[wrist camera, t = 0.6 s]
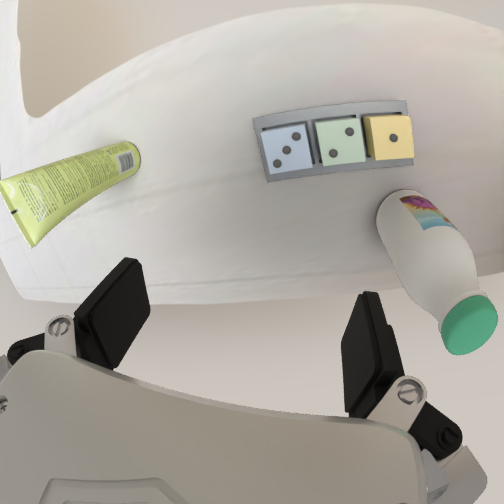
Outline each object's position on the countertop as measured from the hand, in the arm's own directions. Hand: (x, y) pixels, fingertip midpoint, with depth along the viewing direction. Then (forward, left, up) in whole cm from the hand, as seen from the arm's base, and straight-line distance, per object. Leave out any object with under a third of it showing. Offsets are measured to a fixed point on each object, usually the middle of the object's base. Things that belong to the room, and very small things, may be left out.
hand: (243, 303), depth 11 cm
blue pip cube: (-1, -3, -20) cm, 20 cm away
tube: (+20, -7, -23) cm, 31 cm away
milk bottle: (-14, +7, -23) cm, 28 cm away
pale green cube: (-6, -3, -20) cm, 21 cm away
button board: (-6, -3, -23) cm, 24 cm away
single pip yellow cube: (-11, -3, -20) cm, 23 cm away
